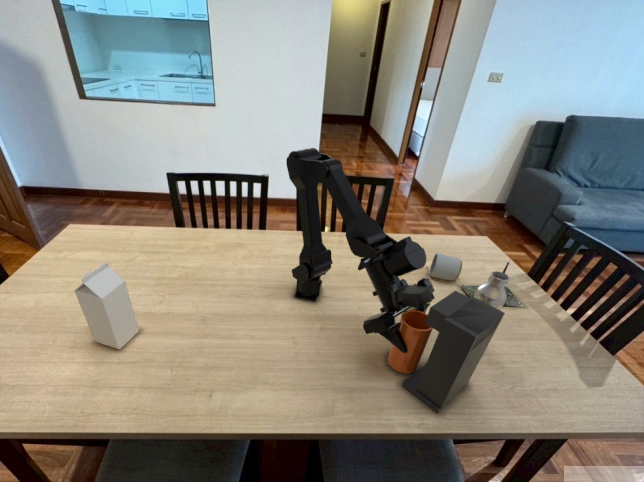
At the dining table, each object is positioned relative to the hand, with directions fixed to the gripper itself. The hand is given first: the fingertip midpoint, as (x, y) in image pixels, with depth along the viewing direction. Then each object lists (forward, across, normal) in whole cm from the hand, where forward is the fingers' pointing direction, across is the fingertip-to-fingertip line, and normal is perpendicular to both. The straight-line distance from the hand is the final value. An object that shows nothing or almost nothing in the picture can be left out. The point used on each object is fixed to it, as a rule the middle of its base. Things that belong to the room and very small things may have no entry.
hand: (415, 345), depth 78 cm
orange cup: (+4, 0, +6) cm, 7 cm away
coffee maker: (+10, 0, 0) cm, 10 cm away
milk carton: (-30, -49, +40) cm, 70 cm away
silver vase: (+4, +44, +6) cm, 45 cm away
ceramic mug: (-7, +42, +17) cm, 46 cm away
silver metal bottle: (+8, +20, +2) cm, 21 cm away
